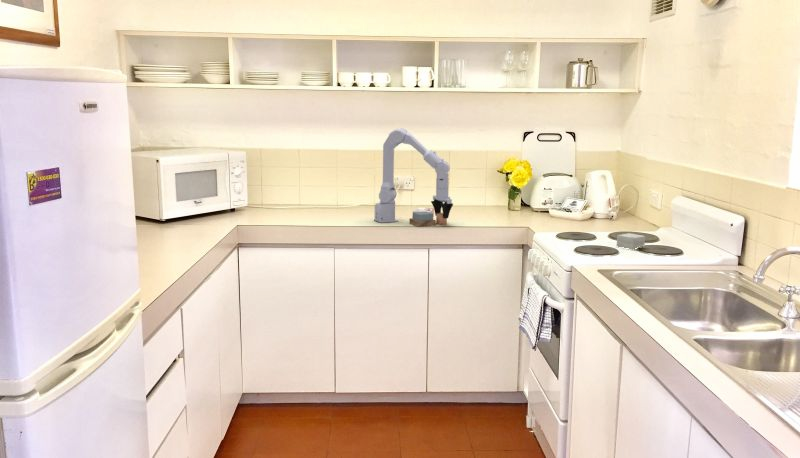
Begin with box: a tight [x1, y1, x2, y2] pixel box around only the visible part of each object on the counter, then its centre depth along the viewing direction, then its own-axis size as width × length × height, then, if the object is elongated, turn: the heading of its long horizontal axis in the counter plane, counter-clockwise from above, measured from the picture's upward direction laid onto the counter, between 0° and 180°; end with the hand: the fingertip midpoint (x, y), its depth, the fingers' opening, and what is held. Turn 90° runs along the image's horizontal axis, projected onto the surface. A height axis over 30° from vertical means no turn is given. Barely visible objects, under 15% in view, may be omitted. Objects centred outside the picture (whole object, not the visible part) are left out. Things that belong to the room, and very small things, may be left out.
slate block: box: [412, 211, 434, 221], centre depth 313 cm, size 7×7×3 cm
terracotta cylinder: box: [435, 212, 448, 226], centre depth 316 cm, size 5×5×5 cm
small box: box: [616, 232, 646, 250], centre depth 270 cm, size 8×8×5 cm
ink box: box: [411, 207, 435, 218], centre depth 327 cm, size 8×5×12 cm
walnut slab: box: [408, 218, 437, 228], centre depth 314 cm, size 9×9×3 cm
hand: (441, 217), depth 315 cm, fingers open, 7 cm apart
